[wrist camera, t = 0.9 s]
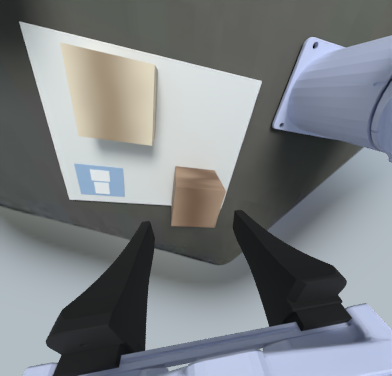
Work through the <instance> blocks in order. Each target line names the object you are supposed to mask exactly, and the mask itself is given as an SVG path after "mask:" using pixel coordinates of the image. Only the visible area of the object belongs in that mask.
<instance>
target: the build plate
mask: <svg viewBox="0 0 392 376" xmlns="http://www.w3.org/2000/svg"><path fill="white" fill-rule="evenodd" d="M19 23H20V27H21V30H22V34H23V37H24V41H25V44H26V48H27V51H28V55H29V59H30V62H31V66H32V69H33V73H34V76H35V80H36V83H37V87H38V90H39V94H40V97H41V101H42V104H43V108H44V111H45V115H46V118H47V122H48V125H49V129H50V132H51V136H52V139H53V143H54V146H55V150H56V154H57V157H58V161H59V164H60V168H61V171H62V175H63V178H64V182H65V185H66V189H67V192H68V196H69V199H71V200H88V201H105V202H121V203H138V204H155V205H171V200H172V191H173V182H174V173H175V166H180V167H189V168H198V169H207V170H215V172H216V174H217V176H218V177H219V179H220V181H221V183H222V185H223V187H224V188H225V190H226V192H227V189H228V186H229V183H230V179H231V176H232V173H233V170H234V167H235V164H236V161H237V158H238V154H239V151H240V148H241V145H242V142H243V139H244V136H245V133H246V130H247V126H248V123H249V120H250V117H251V114H252V111H253V108H254V105H255V101H256V98H257V95H258V92H259V89H260V86H261V83H262V81H259V80H255V79H251V78H247V77H243V76H239V75H235V74H231V73H226V72H222V71H218V70H214V69H210V68H206V67H202V66H198V65H194V64H190V63H186V62H182V61H178V60H174V59H170V58H166V57H162V56H158V55H153V54H149V53H145V52H141V51H137V50H133V49H129V48H125V47H121V46H117V45H113V44H109V43H105V42H101V41H97V40H93V39H89V38H85V37H80V36H76V35H72V34H68V33H64V32H60V31H56V30H52V29H48V28H44V27H40V26H36V25H32V24H28V23H24V22H20V21H19ZM60 42H61V43H65V44H69V45H74V46H78V47H82V48H87V49H91V50H95V51H99V52H104V53H108V54H112V55H116V56H121V57H125V58H129V59H133V60H138V61H142V62H146V63H150V64H155V66H156V68H157V69H158V82H157V106H156V131H155V140H154V142H153V145H152V146H150V145H142V144H135V143H127V142H120V141H112V140H105V139H97V138H90V137H82V136H78V130H77V125H76V120H75V115H74V110H73V105H72V100H71V95H70V90H69V85H68V80H67V75H66V70H65V65H64V60H63V55H62V50H61V45H60ZM225 195H226V193H225ZM224 198H225V196H224ZM223 201H224V199H223ZM222 204H223V202H222ZM221 208H222V206H221Z"/></svg>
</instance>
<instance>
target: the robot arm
mask: <svg viewBox="0 0 392 376" xmlns="http://www.w3.org/2000/svg"><path fill="white" fill-rule="evenodd" d="M313 44H315V47H314V49H313ZM281 123H282V125H281V126H280V124H281ZM272 127H273V128H274V129H279V130H284V131H290V132H295V133H301V134H306V135H312V136H317V137H323V138H328V139H334V140H336V139H337V140H340V141H344V142H348V143H351V144H355V145H359V146H362V147H366V148H370V149H374V150H377V151H381V152H384V153H386V154H387V155H388V157H389V161H390V162H392V35H391V36H388V37H384V38H380V39H377V40H373V41H369V42H365V43H362V44H358V45H354V46H351V47H347V48H345V47H342V46H339V45H336V44H333V43H330V42H327V41H324V40H321V39H318V38H315V37H310V38H308V39H307V40H306V41H305V42H304V44H303V47H302V49H301V52H300V54H299V57H298V60H297V62H296V65H295V67H294V70H293V72H292V75H291V77H290V80H289V82H288V85H287V88H286V90H285V93H284V95H283V98H282V100H281V103H280V105H279V108H278V110H277V113H276V116H275V118H274V121H273V123H272ZM233 230H234V233H235V236H236V239H237V241H238V243H239V245H240V247H241V249H242V251H243V254H244V256H245V258H246V260H247V262H248V264H249V266H250V269H251V272H252V274H253V277H254V280H255V282H256V286H257V288H258V291H259V294H260V298H261V301H262V304H263V307H264V310H265V314H266V317H267V320H268V324H269V327H267V328H261V329H256V330H251V331H246V332H241V333H235V334H230V335H225V336H220V337H214V338H210V339H204V340H199V341H194V342H188V343H183V344H178V345H173V346H168V347H162V348H157V349H152V350H147V351H145V339H146V315H147V314H146V313H147V298H148V297H147V296H148V285H149V277H150V271H151V265H152V260H153V253H154V242H155V237H154V234H153V230H152V226H151V223H150V221H147V222H142V223H141V225H140V226H139V228H138V230H137V231H136V233H135V234H134V236H133V237H132V239H131V240H130V242H129V243H128V245H127V246H126V247H125V249H124V250H123V252H122V253H121V254H120V255H119V257H118V258H117V259H116V260H115V261H114V263H113V264H112V265H111V266H110V267H109V268H108V269H107V270H106V271H105V272H104V273H103V274H102V275H101V276H100V278H98V280H96V281H95V282H94V283H93V284H92V285H91V286H90V287H89V288H88V289H87V290H86V291H85V292H83V293H82V294H81V295H80V296H79V297H77V298H76V299H75V300H74V301H72V302H71V303H70V304H69V305H68V306H66V307H65V308H64V309H63V310H62V311H61V313H60V315H59V317H58V318H57V320H56V322H55V324H54V326H53V328H52V330H51V332H50V334H49V336H48V338H47V340H46V344H47V346H48V347H49V348H51V349H53V350H54V351H56V352H58V353H60V354H61V358H60V360H59V362H58V363H47V364H41V365H36V366H31V367H28V368H27V369H26V370H25V372H24V374H23V375H22V376H391V375H392V330H391V329H390V327H389V326H388V325H387V324H386V323H385V322H384V321H383V320H382V319H381V318H380V317H379V316H378V315H377V314H376V312H375V311H374V310H373V309H372V308H371V307H370V306H369V305H368V304H366V303H365V304H359V305H354V306H350V307H347V308H344V307H343V306H342V304H341V303H342V300H341V299H340V297H339V296H338V294H339V293H340V292H341V291H342V290H343V288H344V287H345V286H346V282H347V281H346V279H345V278H344V277H343V276H342V275H341V274H340V273H339V272H338V270H337V269H336V268H335V267H334V266H332V265H330V264H328V263H325V262H323V261H320V260H318V259H316V258H313V257H311V256H309V255H307V254H305V253H303V252H301V251H299V250H297V249H295V248H293V247H291V246H290V245H288V244H286V243H284V242H283V241H281V240H279V239H278V238H276V237H275V236H273V235H272V234H271V233H269V232H268V231H266V230H265V229H264V228H262V227H261V226H260V225H259V224H257V223H256V222H255V221H254V220H253V219H251V218H250V217H249V216H248V215H247V214H246V213H245V212H243V211H242V210H237V211H235V213H234V222H233ZM260 348H263V351H261V350H258V349H260ZM191 362H192V363H191ZM186 363H190V364H189V365H188V366H186V367H182V368H179V369H176V370H172V371H169V372H168V369H167V367H171V366H176V365H181V364H186Z"/></svg>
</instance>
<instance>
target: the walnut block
mask: <svg viewBox="0 0 392 376" xmlns="http://www.w3.org/2000/svg"><path fill="white" fill-rule="evenodd" d="M225 193H226V190H225V188H224V187H223V185H222V183H221V181H220V179H219V177H218V176H217V174H216V172H215V170H207V169H198V168H189V167H180V166H175V173H174V182H173V191H172V200H171V226H187V227H215V224H216V221H217V218H218V215H219V212H220V209H221V206H222V202H223V199H224V196H225Z"/></svg>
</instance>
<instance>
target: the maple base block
mask: <svg viewBox="0 0 392 376" xmlns="http://www.w3.org/2000/svg"><path fill="white" fill-rule="evenodd" d="M60 45H61V50H62V55H63V60H64V65H65V70H66V75H67V80H68V85H69V90H70V95H71V100H72V105H73V110H74V115H75V120H76V125H77V130H78V136H82V137H90V138H97V139H105V140H112V141H120V142H127V143H135V144H142V145H150V146H152V145H153V142H154V140H155V131H156V106H157V82H158V69H157V68H156V66H155V64H150V63H146V62H142V61H138V60H133V59H129V58H125V57H121V56H116V55H112V54H108V53H104V52H99V51H95V50H91V49H87V48H82V47H78V46H74V45H69V44H65V43H61V42H60Z"/></svg>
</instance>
